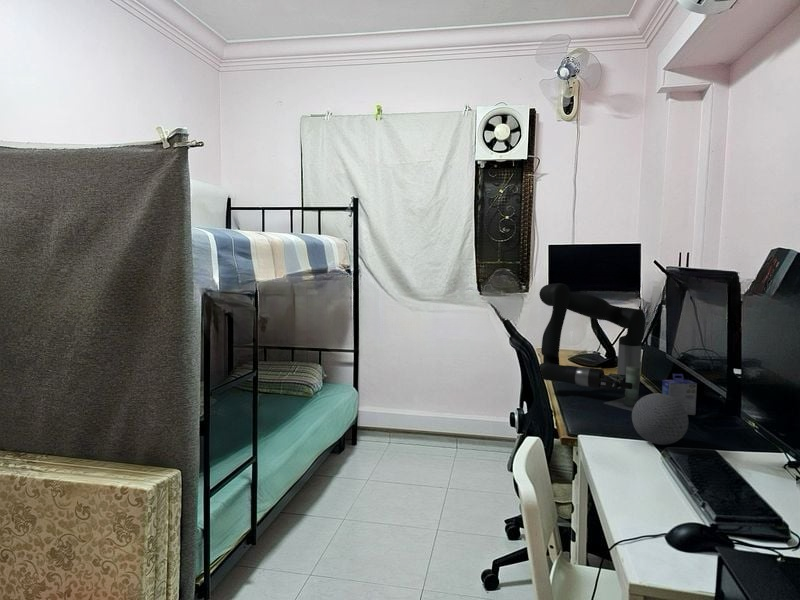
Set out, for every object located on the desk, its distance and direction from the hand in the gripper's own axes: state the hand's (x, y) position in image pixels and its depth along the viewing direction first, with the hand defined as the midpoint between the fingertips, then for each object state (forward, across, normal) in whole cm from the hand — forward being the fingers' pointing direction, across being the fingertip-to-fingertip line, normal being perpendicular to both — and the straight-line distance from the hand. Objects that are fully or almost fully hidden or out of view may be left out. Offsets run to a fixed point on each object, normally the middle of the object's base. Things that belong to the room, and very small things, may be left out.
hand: (634, 383), depth 184 cm
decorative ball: (+14, -34, +9) cm, 38 cm away
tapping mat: (-1, 0, +9) cm, 9 cm away
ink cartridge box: (+14, +1, +9) cm, 17 cm away
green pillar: (-1, 0, +8) cm, 8 cm away
